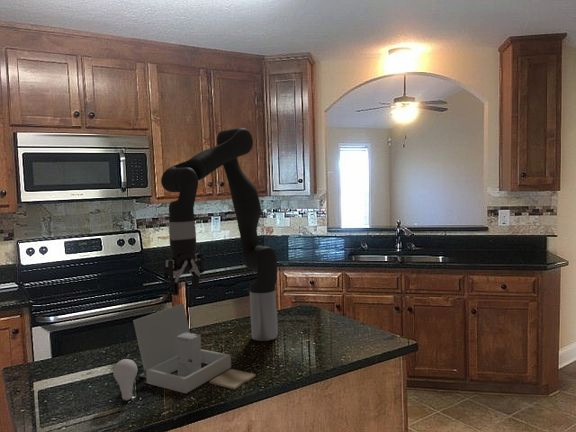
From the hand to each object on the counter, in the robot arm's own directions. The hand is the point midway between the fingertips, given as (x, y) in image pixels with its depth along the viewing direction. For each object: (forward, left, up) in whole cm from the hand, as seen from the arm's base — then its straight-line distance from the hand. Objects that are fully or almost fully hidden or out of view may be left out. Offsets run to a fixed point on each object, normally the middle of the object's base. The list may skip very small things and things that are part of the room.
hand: (185, 291), depth 143 cm
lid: (0, -9, -14) cm, 17 cm away
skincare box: (0, 0, -25) cm, 25 cm away
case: (0, 0, -25) cm, 25 cm away
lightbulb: (+20, -4, -25) cm, 33 cm away
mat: (-3, +14, -25) cm, 29 cm away
